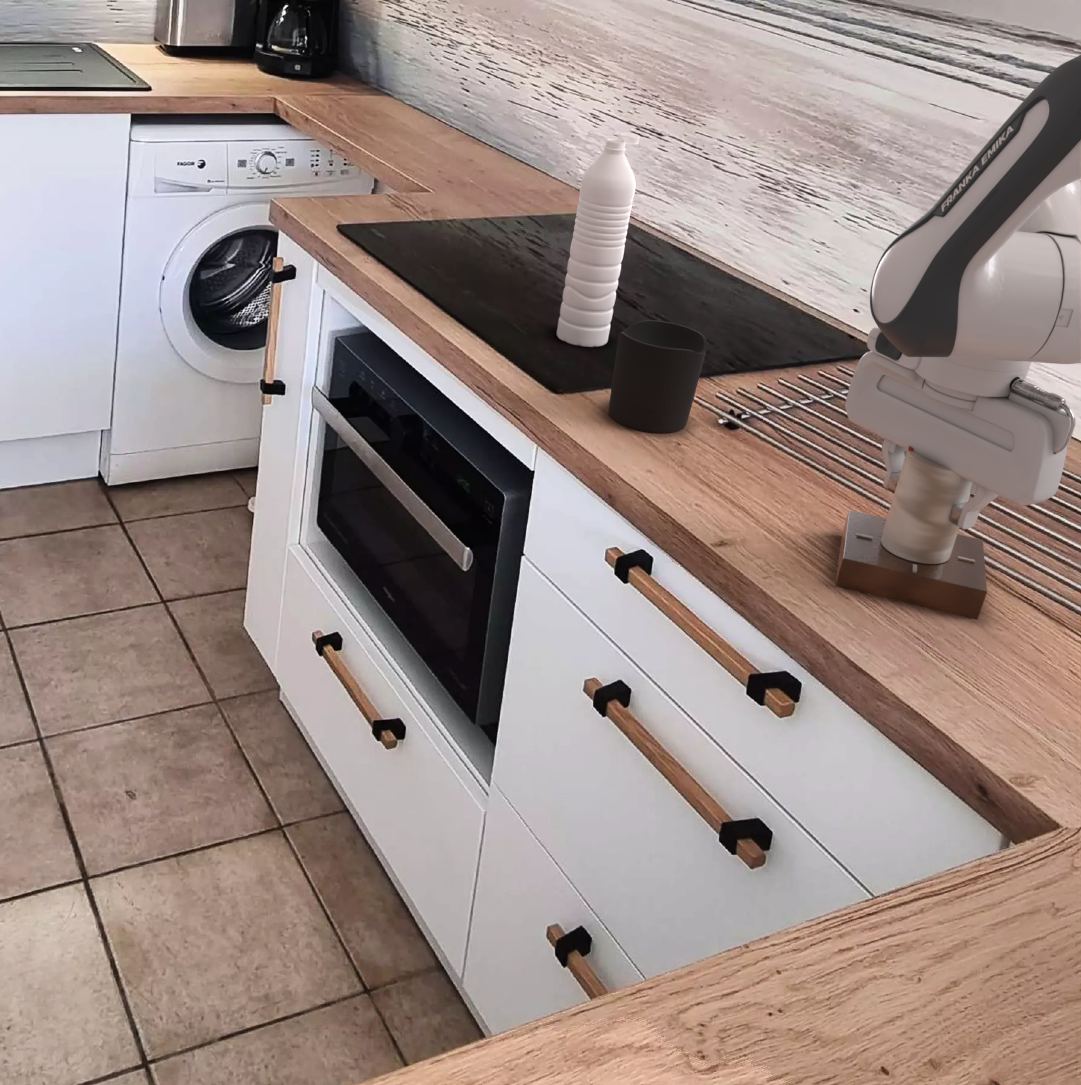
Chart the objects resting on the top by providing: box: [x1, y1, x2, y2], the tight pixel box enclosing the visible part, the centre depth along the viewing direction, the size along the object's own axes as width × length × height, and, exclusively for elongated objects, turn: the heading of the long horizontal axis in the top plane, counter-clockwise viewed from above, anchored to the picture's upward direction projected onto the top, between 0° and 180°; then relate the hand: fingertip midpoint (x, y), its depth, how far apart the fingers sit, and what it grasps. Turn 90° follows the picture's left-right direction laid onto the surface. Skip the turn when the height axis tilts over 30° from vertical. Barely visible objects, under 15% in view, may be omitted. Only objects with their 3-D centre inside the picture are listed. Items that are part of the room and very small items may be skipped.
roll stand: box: [834, 509, 988, 620], centre depth 128 cm, size 12×11×3 cm
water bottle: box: [556, 132, 641, 348], centre depth 175 cm, size 9×6×25 cm
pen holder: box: [608, 319, 708, 434], centre depth 155 cm, size 9×9×10 cm
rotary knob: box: [881, 446, 972, 564], centre depth 125 cm, size 6×6×9 cm
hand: (926, 506), depth 125 cm, fingers closed on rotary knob, 6 cm apart
